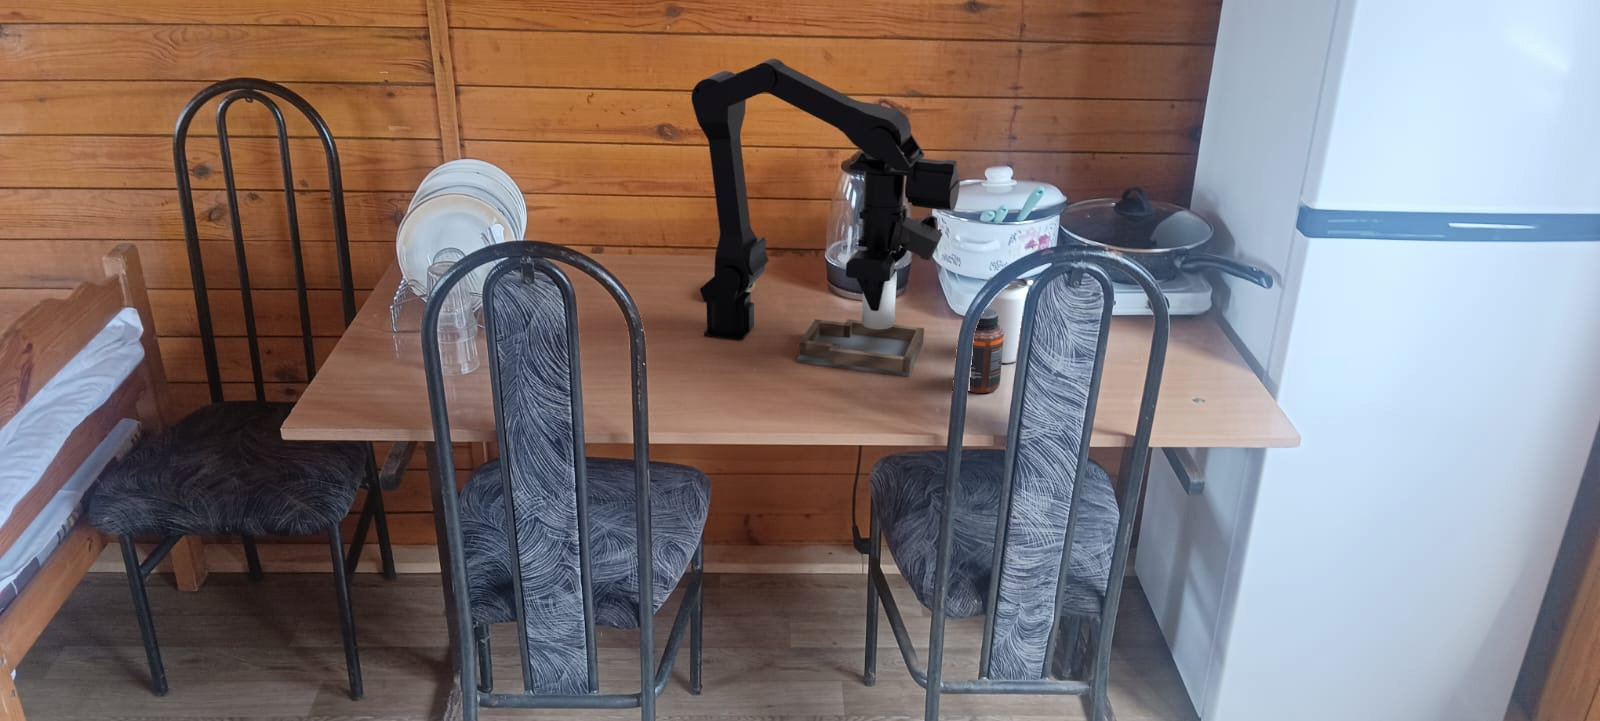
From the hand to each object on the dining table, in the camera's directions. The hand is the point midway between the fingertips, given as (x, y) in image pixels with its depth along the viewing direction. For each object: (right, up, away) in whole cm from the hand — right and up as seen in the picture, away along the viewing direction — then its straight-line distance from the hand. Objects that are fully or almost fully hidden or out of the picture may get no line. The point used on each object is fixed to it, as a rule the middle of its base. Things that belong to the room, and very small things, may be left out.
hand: (878, 304), depth 169 cm
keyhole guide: (-2, -7, +4) cm, 9 cm away
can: (+19, -8, +4) cm, 21 cm away
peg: (0, -3, +1) cm, 3 cm away
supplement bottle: (+14, -12, -5) cm, 19 cm away
